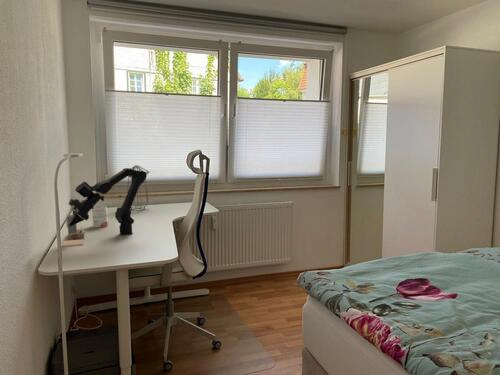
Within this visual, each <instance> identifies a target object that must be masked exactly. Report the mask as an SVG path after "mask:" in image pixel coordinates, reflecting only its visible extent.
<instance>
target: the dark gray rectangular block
mask: <svg viewBox="0 0 500 375" xmlns="http://www.w3.org/2000/svg"><path fill="white" fill-rule="evenodd" d="M74 217H75V215H73V214H69V215H68V214H67V216H66V218H67V219H65V223H66V229H67V230H68V231H67V232H68V233H77V230H78V228H77V224H75V225H73V226H69V224H70V223H71V221H72V220H73V218H74ZM68 233H67V234H68Z"/></svg>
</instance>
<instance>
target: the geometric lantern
mask: <svg viewBox="0 0 500 375" xmlns="http://www.w3.org/2000/svg"><path fill="white" fill-rule="evenodd" d="M130 169H132V170H139V171H144V172H145V173H146V175H147V176H148V174H149V173H150V171H149V170H147V169H145V168H143V167H141V166H140V165H134V166H132V167H131V168H130ZM130 179H131V176H127V187H130V186H129V184H131V183H132V181H130ZM144 183H145V185H147V178H146V179H145V181H144V182H143V183H142V184H144ZM139 189H141V185H140V186H139ZM147 189H148V188H147V186H145V196H146V197H145V198H146V203H143V201H140V202H139V197H140V200H142V194H141V193H142V192H141V191H142V190H138V191H137V194H136V198H135V199H137V200H136V201H137V202H135V199H134V201H133V204H132V206H131V212H132V211H136V212H137V211H138V212H140V211H144V210H146V207H147V206H148V205H149V197H148V196H149V195H148V190H147ZM127 193H128V191H127ZM139 195H140V196H139Z"/></svg>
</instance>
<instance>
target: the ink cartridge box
mask: <svg viewBox="0 0 500 375" xmlns="http://www.w3.org/2000/svg"><path fill="white" fill-rule="evenodd" d="M91 212H92V214H91V215H92V227H93V228H101V227H102V228H103V227H104V228H105V227H108V226H109V221H108V220H109V219H108V218H109V217H108V207H107V206H106V203H96V204H95V206H94V208H93V209H91Z"/></svg>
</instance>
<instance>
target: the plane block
mask: <svg viewBox="0 0 500 375" xmlns="http://www.w3.org/2000/svg"><path fill="white" fill-rule="evenodd" d="M74 239H75V240H80V239H85V229H84V228H83V227H82V226H81V227H80V229H78V228H77V233H67V241H70V240H74Z"/></svg>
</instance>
